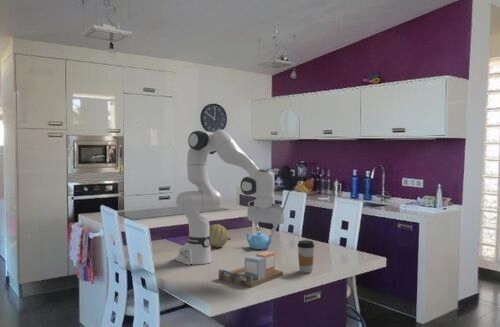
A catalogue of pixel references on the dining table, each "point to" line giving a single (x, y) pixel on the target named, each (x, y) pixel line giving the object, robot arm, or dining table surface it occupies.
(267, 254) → the terracotta carton
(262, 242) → the teapot
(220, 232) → the cantaloupe
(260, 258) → the slate-blue carton
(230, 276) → the shelf plank
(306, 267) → the coffee cup
